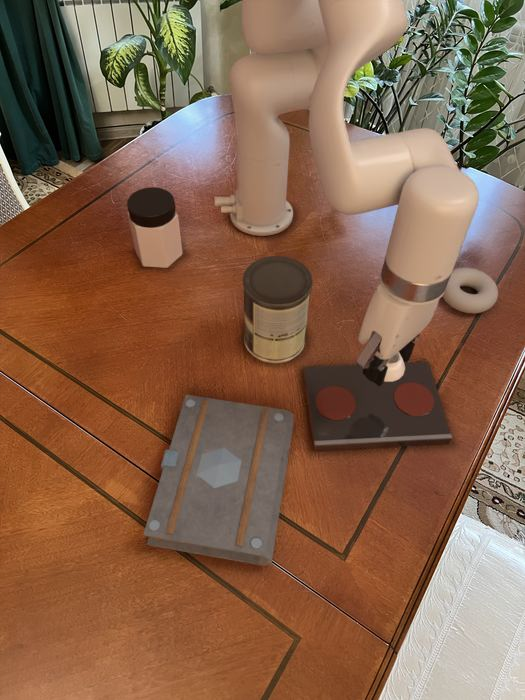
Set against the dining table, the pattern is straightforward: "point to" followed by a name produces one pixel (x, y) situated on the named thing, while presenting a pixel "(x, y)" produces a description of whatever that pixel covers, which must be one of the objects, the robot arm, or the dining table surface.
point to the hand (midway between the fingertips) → (385, 366)
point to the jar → (154, 227)
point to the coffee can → (276, 308)
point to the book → (222, 481)
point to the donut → (470, 301)
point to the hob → (373, 408)
